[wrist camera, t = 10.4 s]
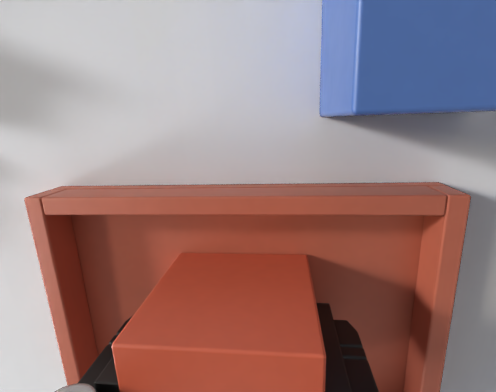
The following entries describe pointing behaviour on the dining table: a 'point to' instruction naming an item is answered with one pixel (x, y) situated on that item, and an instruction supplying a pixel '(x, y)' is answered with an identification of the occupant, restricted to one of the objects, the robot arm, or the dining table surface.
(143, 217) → the terracotta tray
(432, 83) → the blue block
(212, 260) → the terracotta block
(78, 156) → the dining table surface
